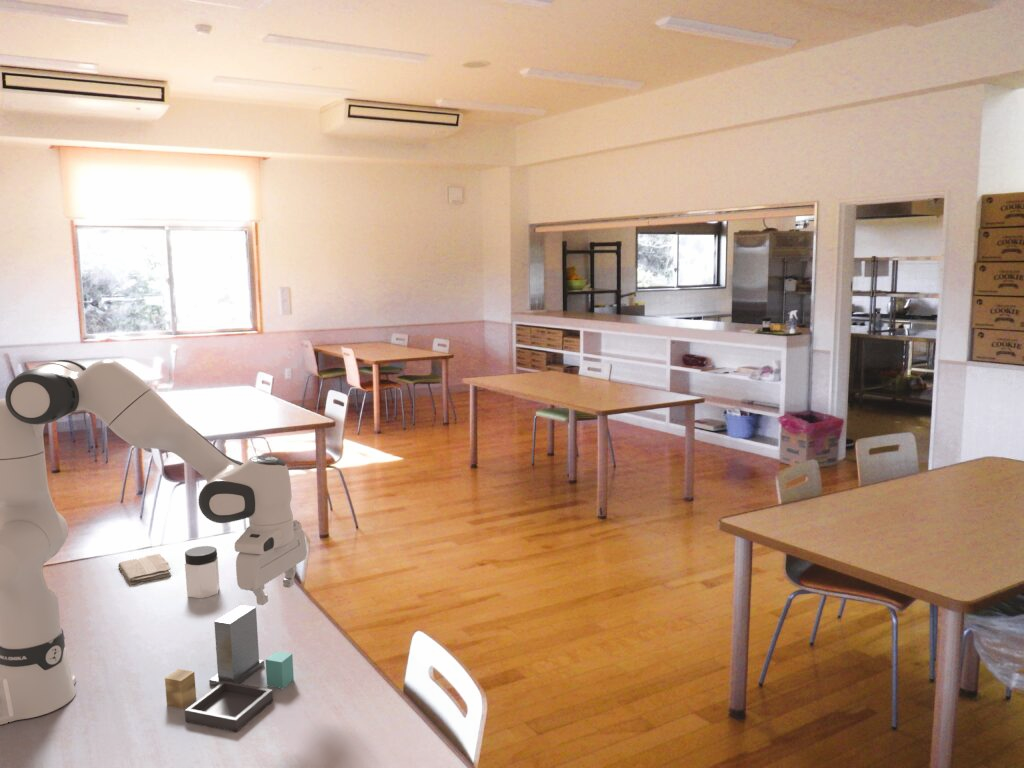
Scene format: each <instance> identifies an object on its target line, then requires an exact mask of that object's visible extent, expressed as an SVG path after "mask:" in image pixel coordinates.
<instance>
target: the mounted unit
mask: <svg viewBox="0 0 1024 768" xmlns="http://www.w3.org/2000/svg"><path fill="white" fill-rule="evenodd" d="M213 622H214V638H215V651H216V666H217V667H216V668H217V673H216V674H215V675H214V676H212V677H211V678H209V681H208V682H209V685H210V686H214V687H216V686H218V685H219V684H221V683H222V682H223V681H227V682H232V683H238V684H243V682H244V681H246V680H247V679H249V678H250V677H251V676H252V675H254V674H255V673H256V672H258V671H259V670H260V669H261V668H262V666H263V665H264V666H265V660H264V659H260V653H259V651H260V650H259V636H258V618H257V607H256V606H251V605H244V604H239V605H238V606H237V607H235V608H234V609H233V608H232V609H231V610H230V611H229V612H227V613H226V614H224V615H222V616H221V617H219V618H217V619H216V620H215V621H213ZM264 666H263V667H264ZM258 669H259V670H258ZM254 672H255V673H254ZM253 673H254V674H253ZM249 676H250V677H249Z"/></svg>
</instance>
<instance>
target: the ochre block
mask: <svg viewBox="0 0 1024 768" xmlns="http://www.w3.org/2000/svg"><path fill="white" fill-rule="evenodd" d="M164 684H165V685H164V686H165V697H166V705H167V707H168V706H170V707H172V706H173V708H178V709H179V708H180V709H184V708H186V707H187V706H188V705H190V704H191V703H192V701H193V700H194V701H196V700H197V691H196V690H197V689H196V677H195V671H192V670H191V671H190V670H186V669H178V668H177V669H176V670H175V671H174V672H172V673H171V674H168V676H166V677H165V678H164ZM194 701H193V702H194ZM190 702H191V703H190ZM189 703H190V704H189ZM185 706H186V707H185Z"/></svg>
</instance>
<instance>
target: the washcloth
mask: <svg viewBox="0 0 1024 768" xmlns="http://www.w3.org/2000/svg"><path fill="white" fill-rule="evenodd" d="M118 569H119V570H120V572H121V573H122V575H123V576H124V577H125V578H126V580H127V581H128V584H129V585H130V586H133V585H138V584H144V583H148V582H153V581H158V580H163V579H167V577H168V578H170V577H171V576H172V574H171V572H170V570H172V569H171V566H170V564H169V562H168V561H166V559H165V558H164V557H163V556H162V555H161V554H160V553H157V554H151V555H147V556H144V557H140V558H135V559H130V560H125V561H120V562H119V563H118Z"/></svg>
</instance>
